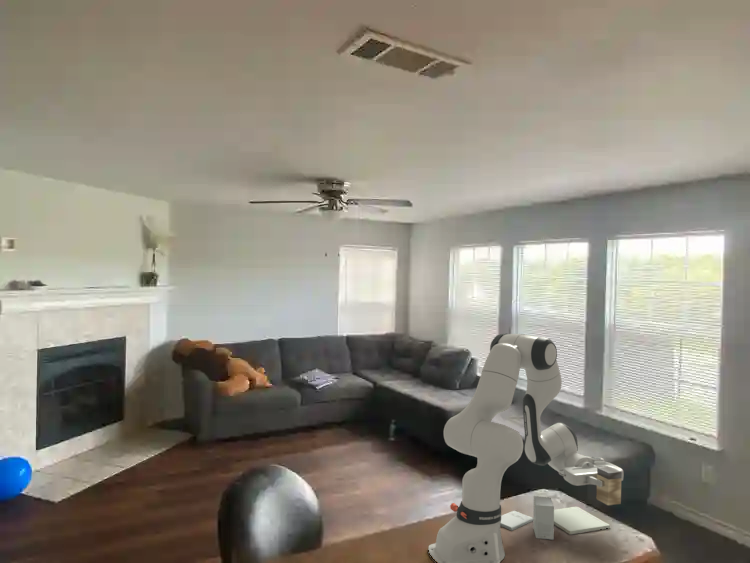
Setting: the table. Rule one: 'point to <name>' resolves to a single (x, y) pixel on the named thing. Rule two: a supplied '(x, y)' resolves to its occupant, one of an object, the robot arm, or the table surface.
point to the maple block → (609, 486)
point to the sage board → (577, 520)
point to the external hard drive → (514, 520)
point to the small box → (543, 518)
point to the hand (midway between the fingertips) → (611, 483)
